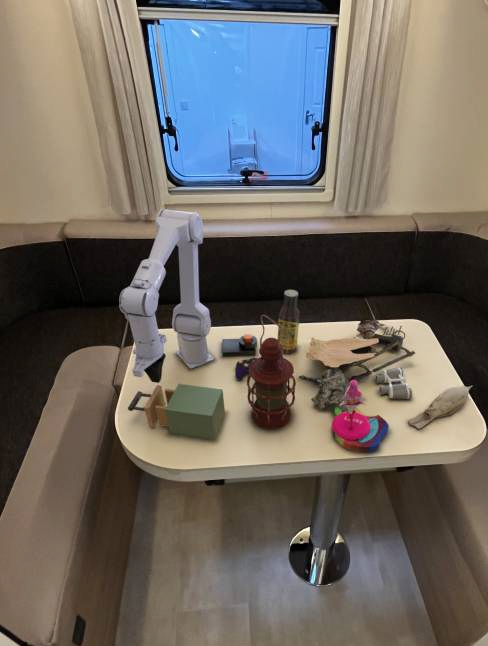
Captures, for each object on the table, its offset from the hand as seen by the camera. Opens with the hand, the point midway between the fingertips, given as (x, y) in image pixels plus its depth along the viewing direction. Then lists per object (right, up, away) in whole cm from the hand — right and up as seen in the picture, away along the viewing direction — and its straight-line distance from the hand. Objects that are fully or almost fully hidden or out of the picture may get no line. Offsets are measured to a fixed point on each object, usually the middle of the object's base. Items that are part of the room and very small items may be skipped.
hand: (156, 380), depth 110 cm
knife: (+46, 0, +17) cm, 49 cm away
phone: (+46, +5, +22) cm, 51 cm away
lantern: (+29, -9, +6) cm, 31 cm away
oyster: (+62, +20, +31) cm, 72 cm away
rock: (+40, -4, +12) cm, 42 cm away
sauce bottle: (+33, +10, +29) cm, 45 cm away
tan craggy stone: (+50, +8, +19) cm, 54 cm away
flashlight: (+62, +14, +35) cm, 72 cm away
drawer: (+1, -9, +4) cm, 10 cm away
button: (+21, +12, +26) cm, 36 cm away
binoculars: (+63, -2, +16) cm, 65 cm away
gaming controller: (+22, +3, +20) cm, 30 cm away
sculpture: (+76, -5, +6) cm, 76 cm away
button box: (+18, +10, +28) cm, 34 cm away
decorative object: (+57, -15, -1) cm, 59 cm away
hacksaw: (+62, +3, +20) cm, 65 cm away
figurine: (+49, -11, +1) cm, 50 cm away
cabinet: (+10, -11, +3) cm, 15 cm away
